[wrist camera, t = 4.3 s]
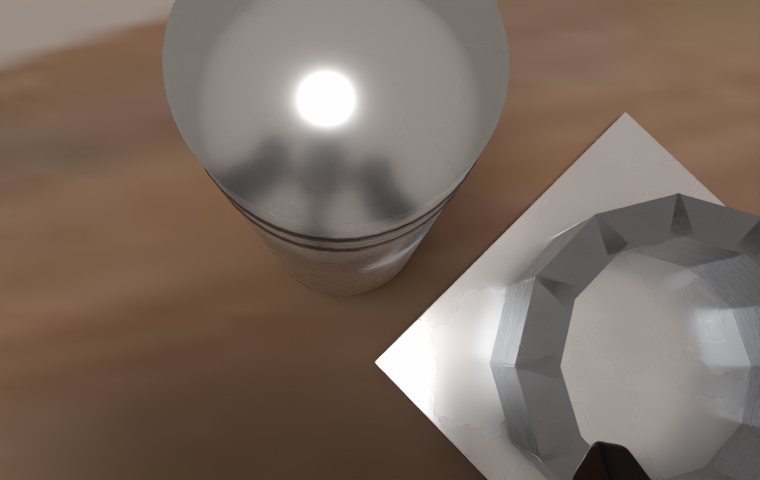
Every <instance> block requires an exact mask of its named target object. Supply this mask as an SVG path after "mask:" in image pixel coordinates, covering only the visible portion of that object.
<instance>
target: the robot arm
mask: <svg viewBox="0 0 760 480" xmlns="http://www.w3.org/2000/svg"><path fill="white" fill-rule="evenodd" d="M572 480H651V479H650V477H649V476H648V475H647V473H646V472H645V471H644V469H643V468H642V467H641V465H640V464H639V463H638V461H637V460H636V459H635V457H634V456H633V455H632V453H631V452H630V451H629V450H628V449H627V448H626V447H624V446H622V445H619V444H614V443H608V442H603V441H596V442H594V443H593V444H592V445H591V446H590V448H589V449H588V451H587V453H586V455H585V456H584V458H583V460H582V461H581V463H580V465H579V466H578V468H577V470H576V471H575V473H574V476H573V479H572Z"/></svg>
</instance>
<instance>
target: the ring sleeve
mask: <svg viewBox="0 0 760 480" xmlns="http://www.w3.org/2000/svg"><path fill="white" fill-rule="evenodd" d="M375 363H376V364H377V365H378V366H379V367H380V368H381V369H382V370H383V371H384V372H385V373H386V374H387V375H388V377H389V378H390V379H391V380H392V381H393V382H394V383H395V384H396V385H397V386H398V387H399V388H400V389H401V390H402V391H403V392H404V393H405V394H406V395H407V396H408V397H409V398H410V399H411V400H412V401H413V403H414V404H415V405H416V406H417V407H418V408H419V409H420V410H421V411H422V412H423V413H424V414H425V415H426V416H427V417H428V418H429V419H430V420H431V421H432V422H433V423H434V424H435V425H436V426H437V427H438V429H439V430H440V431H441V432H442V433H443V434H444V435H445V436H446V437H447V438H448V439H449V440H450V441H451V442H452V443H453V444H454V445H455V446H456V447H457V448H458V449H459V450H460V451H461V452H462V453H463V455H464V456H465V457H466V458H467V459H468V460H469V461H470V462H471V463H472V464H473V465H474V466H475V467H476V468H477V469H478V470H479V471H480V472H481V473H482V474H483V475H484V476H485V477H486V478H487V479H488V480H572V479H573V476H574V473H575V471H576V470H577V468H578V466H579V465H580V463H581V461H582V460H583V458H584V456H585V455H586V453H587V451H588V449H589V448H590V446H591V445H592V444H593V443H594V442H596V441H603V442H608V443H614V444H619V445H622V446H624V447H626V448H627V449H628V450H629V451H630V452H631V453H632V455H633V456H634V457H635V459H636V460H637V461H638V463H639V464H640V465H641V467H642V468H643V469H644V471H645V472H646V473H647V475H648V476H649V477H650V479H651V480H760V216H757V215H753V214H750V213H746V212H743V211H739V210H736V209H732V208H729V207H726V206H725V205H724V204H722V203H721V202H720V201H719V200H718V199H717V198H716V197H715V196H714V195H713V194H712V193H711V192H710V191H709V190H708V189H707V188H706V187H704V186H703V185H702V184H701V183H700V182H699V181H698V180H697V179H696V178H695V177H694V176H693V175H692V174H691V173H690V172H689V171H687V170H686V169H685V168H684V167H683V166H682V165H681V164H680V163H679V162H678V161H677V160H676V159H675V158H674V157H673V156H672V155H670V154H669V153H668V152H667V151H666V150H665V149H664V148H663V147H662V146H661V145H660V144H659V143H658V142H657V141H656V140H655V139H653V138H652V137H651V136H650V135H649V134H648V133H647V132H646V131H645V130H644V129H643V128H642V127H641V126H640V125H639V124H638V123H637V122H635V121H634V120H633V119H632V118H631V117H630V116H629V115H628V114H627V113H626V112H625V113H624V114H622V115H621V116H620V117H619V118H618V119H617V120H616V121H615V122H614V123H613V124H612V125H611V126H610V127H609V128H608V129H607V130H606V131H605V132H604V133H603V134H602V135H601V136H600V137H599V138H598V139H597V140H596V141H595V142H594V143H593V144H592V145H591V146H590V147H589V148H588V149H587V150H586V151H585V152H584V153H583V154H582V155H581V156H580V157H579V158H578V159H577V160H576V161H575V162H574V163H573V164H572V165H571V166H570V167H569V168H568V169H567V170H566V171H565V172H564V173H563V174H562V175H561V176H560V177H559V178H558V179H557V180H556V181H555V182H554V183H553V184H552V185H551V186H550V187H549V188H548V189H547V190H546V191H545V192H544V193H543V194H542V195H541V196H540V197H539V198H538V199H537V200H536V201H535V202H534V203H533V204H532V205H531V206H530V207H529V208H528V209H527V210H526V211H525V212H524V213H523V214H522V215H521V216H520V217H519V218H518V219H517V220H516V221H515V222H514V223H513V224H512V225H511V226H510V227H509V228H508V229H507V230H506V231H505V232H504V233H503V234H502V235H501V236H500V237H499V238H498V239H497V240H496V241H495V242H494V243H493V244H492V245H491V246H490V247H489V248H488V249H487V250H486V251H485V252H484V253H483V254H482V255H481V256H480V257H479V258H478V259H477V260H476V261H475V262H474V263H473V264H472V265H471V266H470V267H469V268H468V269H467V270H466V271H465V272H464V273H463V274H462V275H461V276H460V277H459V278H458V279H457V280H456V281H455V282H454V283H453V284H452V285H451V286H450V287H449V288H448V289H447V290H446V291H445V292H444V293H443V294H442V295H441V296H440V297H439V298H438V299H437V300H436V301H435V302H434V303H433V304H432V305H431V306H430V307H429V308H428V309H427V310H426V311H425V312H424V313H423V314H422V315H421V316H420V317H419V318H418V319H417V320H416V321H415V322H414V323H413V324H412V325H411V326H410V327H409V328H408V329H407V330H406V331H405V332H404V333H403V334H402V335H401V336H400V337H399V338H398V339H397V340H396V341H395V342H394V343H393V344H392V345H391V346H390V347H389V348H388V349H387V350H386V351H385V352H384V353H383V354H382V355H381V356H380V357H379V358H378V359H377V360H376V361H375Z"/></svg>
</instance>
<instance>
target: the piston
mask: <svg viewBox="0 0 760 480" xmlns="http://www.w3.org/2000/svg"><path fill="white" fill-rule="evenodd" d="M163 77H164V85H165V92H166V96H167V99H168V103H169V106H170V110H171V113H172V116H173V118H174V120H175V122H176V124H177V127H178V129H179V131H180V133H181V135H182V137H183V138H184V140H185V142H186V143H187V145H188V146H189V148H190V150H191V151H192V153H193V154H194V155H195V157H196V158H197V159H198V160H199V162H200V163H201V164H202V165H203V167H204V169H205V170H206V172H207V173H208V175H209V176H210V177H211V179H212V180H213V181H214V182H215V183H216V185H217V186H218V187H219V188H220V189H221V191H222V192H223V193H224V195H225V196H226V197H227V198H228V199H229V201H230V202H231V203H232V204H233V205H234V207H235V208H236V209H237V210H238V211H239V212H240V213H241V214H242V215H243V217H244V218H245V219H246V220H247V222H248V223H249V224H250V225H251V227H252V228H253V229H254V230H255V232H256V233H257V234H258V235H259V236H260V238H261V239H262V240H263V241H264V243H265V244H266V245H267V246H268V248H269V249H270V250H271V251H272V253H273V254H274V255H275V256H276V258H277V259H278V260H279V261H280V263H281V264H282V265H283V266H284V268H285V269H286V270H287V271H288V272H289V273H290V274H291V275H292V276H293V277H294V278H295V279H296V280H297V281H299V282H300V283H302V284H303V285H305V286H307V287H309V288H310V289H312V290H315V291H318V292H320V293H323V294H328V295H333V296H354V295H360V294H364V293H367V292H370V291H373V290H375V289H377V288H379V287H381V286H383V285H384V284H386V283H387V282H389V281H390V280H391V279H392V278H394V277H395V276H396V275H397V274H398V273H399V272H400V271H401V269H402V268H403V267H404V266H405V264H406V263H407V261H408V260H409V258H410V257H411V255H412V254H413V252H414V251H415V250H416V248H417V247H418V245H419V244H420V242H421V241H422V239H423V238H424V236H425V235H426V233H427V232H428V230H429V229H430V227H431V226H432V225H433V223H434V222H435V220H436V219H437V217H438V216H439V214H440V213H441V211H442V210H443V208H444V207H445V206H446V204H447V203H448V202H449V201H450V200H451V199H452V197H453V196H454V194H455V193H456V191H457V190H458V188H459V187H460V186H461V184H462V183H463V181H464V180H465V178H466V177H467V175H468V174H469V172H470V171H471V169H472V168H473V167H474V165H475V163H476V161H477V159H478V157H479V155H480V154H481V153H482V151H483V150H484V148H485V147H486V145H487V144H488V142H489V140H490V138H491V136H492V134H493V132H494V130H495V128H496V126H497V124H498V122H499V119H500V116H501V113H502V110H503V107H504V104H505V99H506V94H507V88H508V83H509V50H508V40H507V36H506V32H505V27H504V23H503V19H502V17H501V14H500V12H499V9H498V6H497V4H496V1H495V0H175V2H174V4H173V7H172V9H171V13H170V16H169V20H168V23H167V26H166V31H165V38H164V44H163Z"/></svg>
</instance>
